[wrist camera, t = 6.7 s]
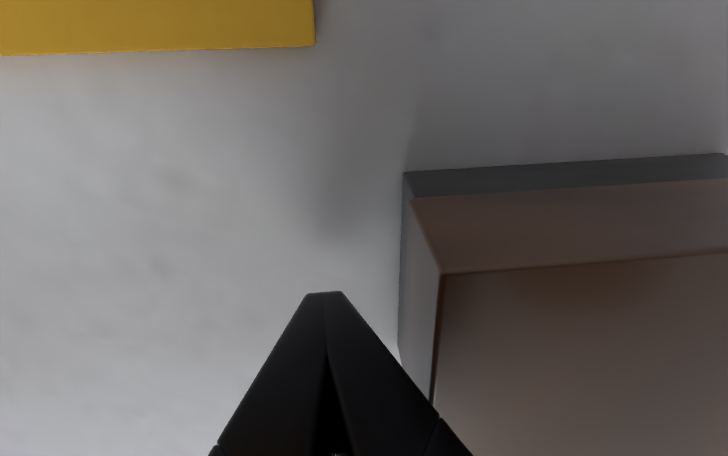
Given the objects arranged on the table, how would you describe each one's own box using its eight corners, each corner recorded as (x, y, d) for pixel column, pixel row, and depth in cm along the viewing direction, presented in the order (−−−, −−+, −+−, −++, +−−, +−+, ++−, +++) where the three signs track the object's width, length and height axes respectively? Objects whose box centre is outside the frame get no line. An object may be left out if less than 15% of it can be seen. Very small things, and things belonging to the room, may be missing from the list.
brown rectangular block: (389, 351, 10) (420, 502, 7) (391, 162, 8) (441, 271, 5) (653, 327, 11) (782, 456, 8) (735, 142, 8) (968, 228, 5)
